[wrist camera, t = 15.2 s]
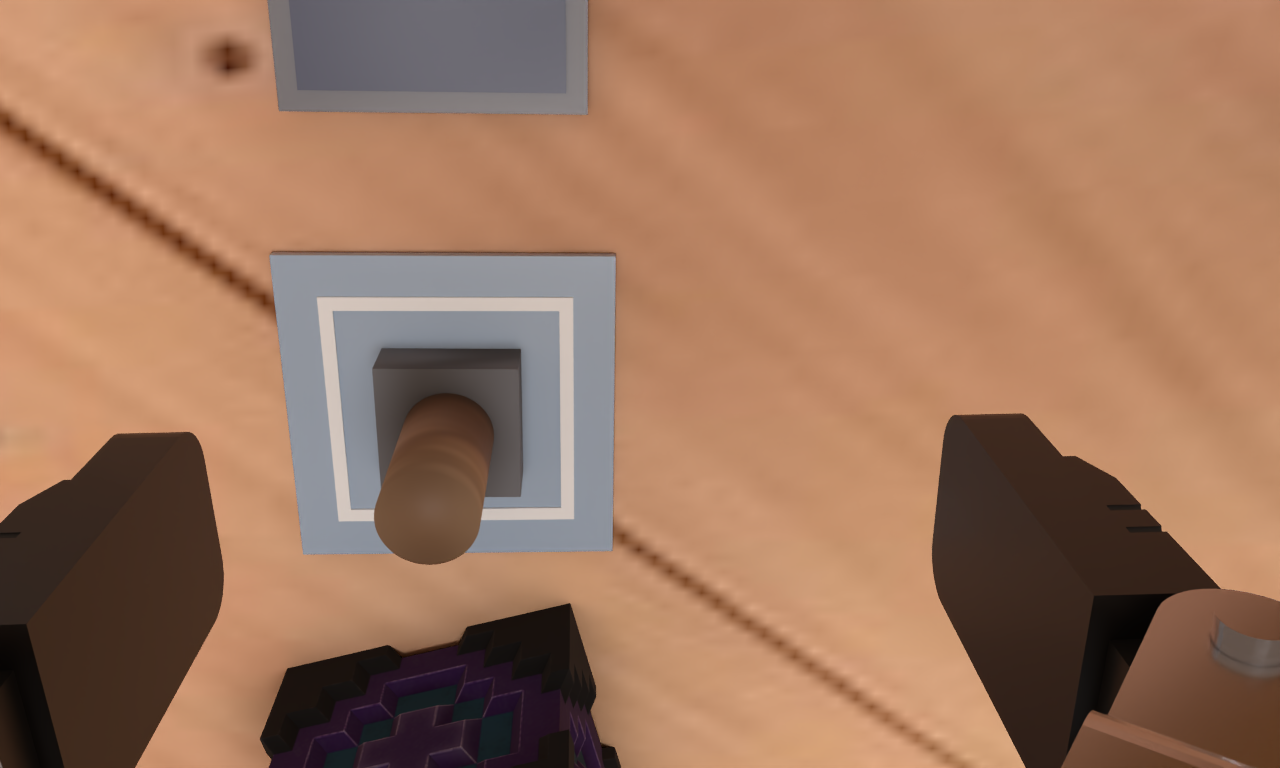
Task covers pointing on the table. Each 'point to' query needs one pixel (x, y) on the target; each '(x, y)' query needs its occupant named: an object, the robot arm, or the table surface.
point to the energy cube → (447, 704)
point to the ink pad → (431, 56)
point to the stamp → (444, 445)
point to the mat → (451, 319)
